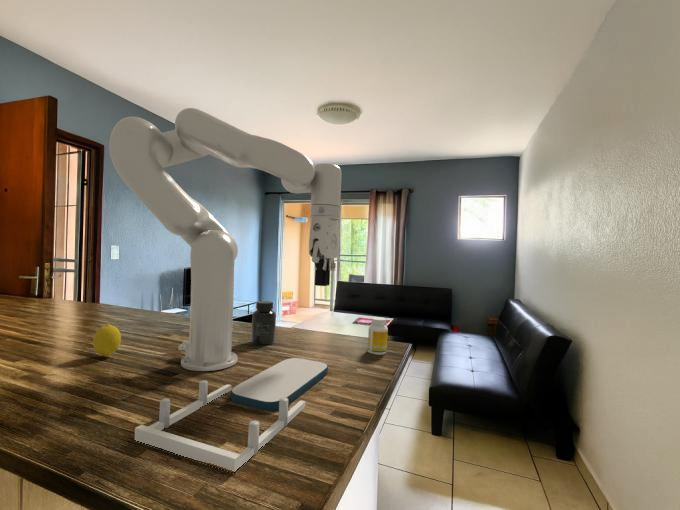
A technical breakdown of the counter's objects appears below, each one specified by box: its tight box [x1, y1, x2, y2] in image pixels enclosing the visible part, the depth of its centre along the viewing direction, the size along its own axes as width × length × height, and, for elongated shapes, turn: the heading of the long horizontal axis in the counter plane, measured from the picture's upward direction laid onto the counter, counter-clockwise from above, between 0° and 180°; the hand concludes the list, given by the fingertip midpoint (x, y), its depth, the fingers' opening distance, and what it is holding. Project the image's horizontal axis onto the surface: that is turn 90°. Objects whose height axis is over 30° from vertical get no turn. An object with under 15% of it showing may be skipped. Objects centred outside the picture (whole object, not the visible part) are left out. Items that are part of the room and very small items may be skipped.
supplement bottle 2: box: [367, 316, 389, 356], centre depth 94 cm, size 5×5×10 cm
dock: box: [134, 379, 307, 472], centre depth 53 cm, size 17×20×4 cm
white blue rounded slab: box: [230, 357, 329, 412], centre depth 69 cm, size 24×12×2 cm, turn 158°
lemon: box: [92, 323, 122, 358], centre depth 80 cm, size 6×6×8 cm
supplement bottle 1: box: [250, 300, 277, 346], centre depth 99 cm, size 7×7×12 cm
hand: (322, 285), depth 85 cm, fingers closed
